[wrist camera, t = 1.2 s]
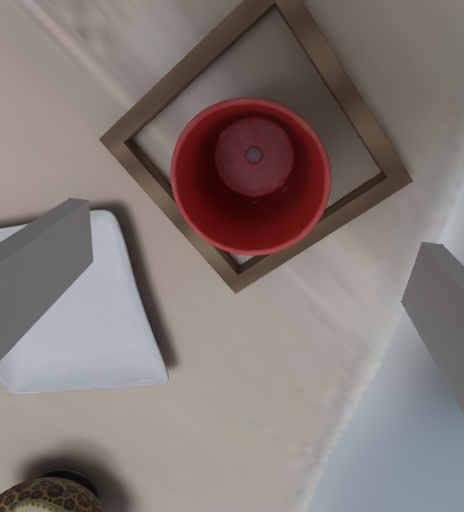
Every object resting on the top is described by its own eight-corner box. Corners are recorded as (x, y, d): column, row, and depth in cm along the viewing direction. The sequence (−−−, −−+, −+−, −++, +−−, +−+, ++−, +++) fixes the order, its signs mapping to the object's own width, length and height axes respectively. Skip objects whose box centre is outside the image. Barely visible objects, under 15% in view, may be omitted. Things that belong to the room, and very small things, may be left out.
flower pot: (269, 60, 31) (268, 56, 22) (338, 171, 34) (361, 205, 25) (171, 139, 34) (137, 163, 26) (242, 232, 38) (233, 281, 29)
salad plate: (-59, 228, 41) (-86, 241, 38) (124, 197, 37) (110, 208, 34) (23, 377, 50) (7, 397, 47) (178, 363, 46) (171, 384, 43)
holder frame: (107, 135, 35) (98, 139, 33) (279, -28, 28) (280, -35, 26) (237, 283, 40) (235, 293, 38) (405, 175, 34) (413, 181, 32)
